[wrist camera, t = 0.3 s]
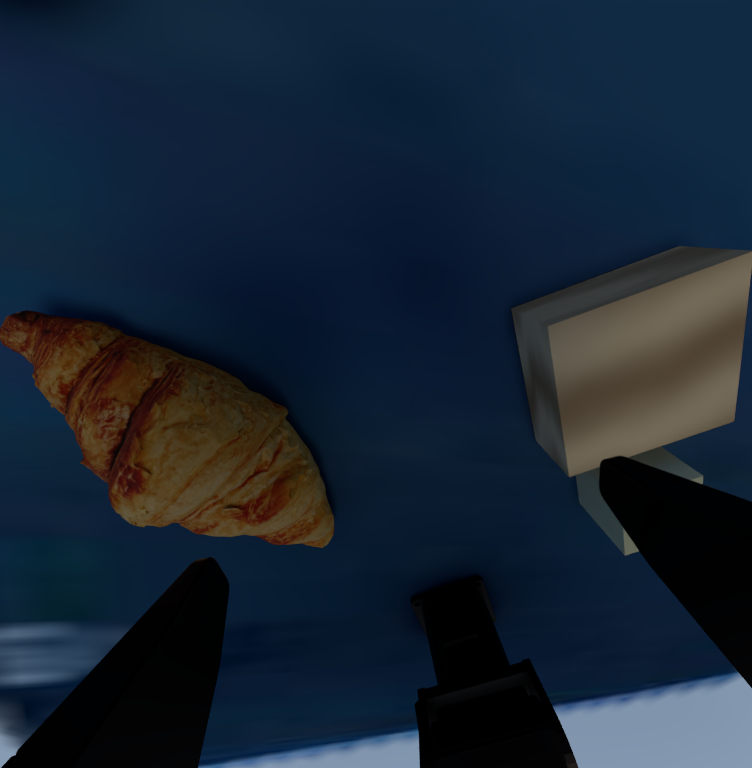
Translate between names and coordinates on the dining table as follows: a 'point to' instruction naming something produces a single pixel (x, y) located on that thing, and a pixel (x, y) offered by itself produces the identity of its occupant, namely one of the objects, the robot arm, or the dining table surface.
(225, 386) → the croissant
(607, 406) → the birch plinth
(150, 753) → the robot arm
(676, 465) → the sage cube
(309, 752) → the dining table surface
